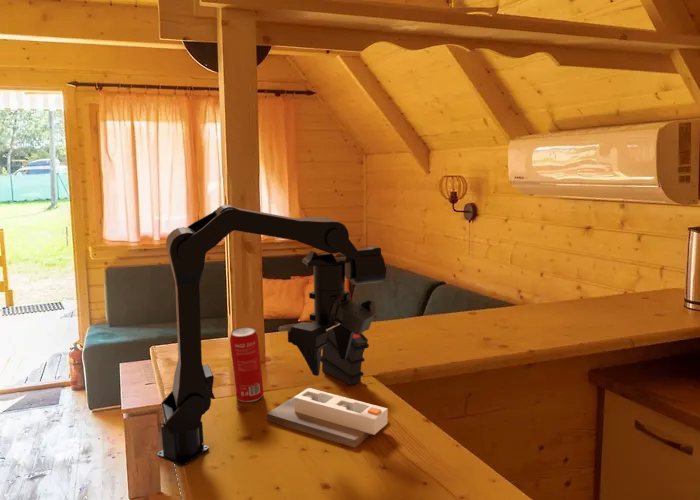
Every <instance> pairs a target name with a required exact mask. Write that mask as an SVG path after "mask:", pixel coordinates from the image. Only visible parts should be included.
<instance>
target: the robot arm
mask: <svg viewBox="0 0 700 500" xmlns="http://www.w3.org/2000/svg"><path fill="white" fill-rule="evenodd" d="M348 230H349V229H348V228H347V227H346V225H345V224H344V223H341V222H339V221H337V220H334V219H332V218H329V217H323V216H321V217H320V216H318V217H316V216H315V217H314V216H312V217H298V218H297V217H288V216H286V215H285V216H284V215H279V214H273V213H268V212H261V211H256V210H251V209H247V208H240V207H235V206H234V205H233V206H232V205H231V204H222V205H220V206H218V207H217V208H216V209H215V210H213V211H212V212H210V213H209V214H207V215H205V216H203V217H201V218H199V219H197V220H196V221H194V222H192V223H190V224H189V225H188V226H187V227H186V226H185V227H184V226H182V227H177V228H176V229H173V230H172V231H171V232H170V233H169V234H168V235H167V238H166V239H165V240H166V241H165V246H166V252H167V255H168V256H167V257H168V261H169V263H170V265H169V266H170V268H171V273H172V275H173V279H174V284H175V285H174V286H175V290H174V291H175V307H176V308H175V309H176V311H175V313H176V314H175V315H176V332H177V334H176V336H177V357H178V358H177V363H176V367H175V371H174V375H173V383H172V391H170V393H168V395H167V396H166V397H165V398H164V400H162V401H161V402H160V403H161V404H160V405H161V410H162V415H163V420H164V421H163V424H161V426H160V428H161V439H162V442H161V443H162V450H160V451H158V452H157V455H156V456H157V457H158V458H161V459H163V460H166V461H168V462H171V463H173V464H175V465H178V466H185V465H187V464H189V463H191V462H192V461H193V460H195V459H197V458H199V456H201V455H203V454H204V453H206V452H208V451H209V450H210V447H209V445H205V444H204V428H203V422H202V417H203V415H205V414H206V412H208V411H209V410H210V407H211V403H212V400H215V399H216V397H215V394H214V393H213V392H214V391H213V386H214V379H215V378H214V374H213V372H212V370H211V368H210V365H209V364H204V365H203V357H202V331H201V329H202V327H201V326H202V325H201V302H200V301H201V298H200V297H201V296H200V293H201V292H200V283H201V280H202V276H203V273H204V269H205V261H206V255H207V253H208V252H209V251H211V250H212V249H214V248H215V247H216V246H218V244H219V243H221V242H222V240H224V239H225V238H226V237H227V236H228V235H230V234H231V233H232V232H234V231H235V232H242V233H249V234H254V235H259V236H265V237H271V238H279V239H285V240H290V241H296V242H299V243H302V244H303V245H304V244H305V245H307V246H310V247H312V248H314V249H316V250H319V251H323V252H324V253H322V254H317V252H315V251H314V250H310V251H309V253H308V254H307V255H306V256H305V257H303V258H302V259H301V262H302V263H303V264H305V265H306V266H307V267H313V291H311V292H309V295H308V298H309V299H310V300H313V313H309V320H310V321H313V322H314V321H315V323H310V322H305V321H301V322H299V323H297V324H294V325H292V326H290V328H288V330H287V342H288V343H290V344H292V345H293V346H296V347H297V349H298V350H299V353H301V354H302V356H303V358H304V360H305V362H306V364H307V366H308V368H309V370H310V371H311V373H312V375H313V376H315V377H318V376H320V372H321V371H320V370H321V356H322V349H323V348H324V347H325V346H326V345H327V343H325V341H326V338H327V331H328V330H330V329H332V328H333V330H334V335H335V339H336V344H337V348H338V352H339V356H340V359H343V360H345V359H346V357H347V354H348V351H349V348H350V345H351V341H352V339H353V336H354V334H356V335H359V334H361V333H362V334H363V333H364V332H366V331H369V329H370V327H371V324H372V321H374V320H376V319H377V315H376V314H377V313H376V312H377V311H376V302H374V301H373V300H371V299H367V300H364V301H363V302H362V303H361V302H359V301H358V302H354V301H352V295H351V293H350V291H349V290H346V280H347V281H350V283H351V284H352V285H354V286H355V285H356V286H357V285H365V284H374V283H375V284H376V283H382V282H384V280H386V276H387V266H386V263H385V259H384V256H383V255H382V248H381V247H379V246H378V245H372V246H368V247H361V248H356V247H355V245H354V243H352V241H351V240H350V238H349V237H350V235H349V233H350V232H349V231H348ZM334 254H340V255H342V256H335V255H334Z"/></svg>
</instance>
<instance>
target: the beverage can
mask: <svg viewBox="0 0 700 500" xmlns="http://www.w3.org/2000/svg"><path fill="white" fill-rule="evenodd" d="M229 344H230V353H231V362H232V371H233V380H234V389H235V396H236V397H235V398H236V399H237V400H238V401H239V402H241V403H254V402H256V401H258V400H261V398H262V397H263V396H264V394H265V393H264V383H263V382H264V381H263V375H262V374H263V373H262V366H261V365H262V364H261V354H260V344H259V335H258V333H257V331H256V329H255V328H254V327H252V326H251V327H250V326H243V327H238V328H235V329H233V330H232V331H231V333H230V337H229Z"/></svg>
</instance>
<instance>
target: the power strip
mask: <svg viewBox="0 0 700 500" xmlns="http://www.w3.org/2000/svg"><path fill="white" fill-rule="evenodd" d="M302 391H303V392H302ZM302 391H301V392H299V393H300V394H299V393H297V394H298V395H297V394H296V395H297V396H296V395H294V396H295V397H294V396H293V397H294V411H295V412H298V413H302V414H305V415H308V416H312V417H315V418H319V419H322V420H325V421H329V422H332V423H336V424H339V425H343V426H346V427H349V428H353V429H356V430H360V431H363V432H366V433H370V435H373V436H374V435H376V434H377V433H378V432H380V430H382V429H383V428H385V426H386V425H388V417H389V416H388V414H389V412H388V409H389V408H388V407H383V406H379V405H375V404H371V403H368V402H364V401H360V400H357V399H352V398H348V397H344V396H342V395H337V394H334V393H329V392H326V391H323V390H318V389H316V388H311V387H307V388H306V389H304V390H302ZM307 395H313V396H314V400H312V398H309V397H306V396H307ZM342 404H346V405H348V410H347V408H346V407H342V406H340V405H342Z"/></svg>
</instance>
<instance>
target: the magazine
mask: <svg viewBox="0 0 700 500" xmlns="http://www.w3.org/2000/svg"><path fill="white" fill-rule="evenodd" d="M368 342H369V339H368V338H367V337H366V336H365V335H364V334H363V332H362V333H361V334H359V335H356V334H354V336H353V339H352V341H351V345H350V348H349V351H348V354H347V357H346V359H345V360H343V359H340V356H339V352H338V348H337V344H336V339H335V335H334V330H333V328H332V329H330V330H328V331H327V338H326V341H325V343H327V345H326V346H325V347H324V348H323V349H322V350H321V361H320V363H321V371H322V372H324V373H326V374H328V375H330V376H332V377H334V378H336V379H338V380H340V381H342V382H344V383H346V384H349V386H350V385H351V386H352V385H354V384H357V383H360V382H361V381H362V378H361V377H362V376H364V372H363V371H362V363H364V362H365V358H364V357H363V356H364V352H365V351H366V350H365V349H368V348H369V346H370V345H369V343H368Z"/></svg>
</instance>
